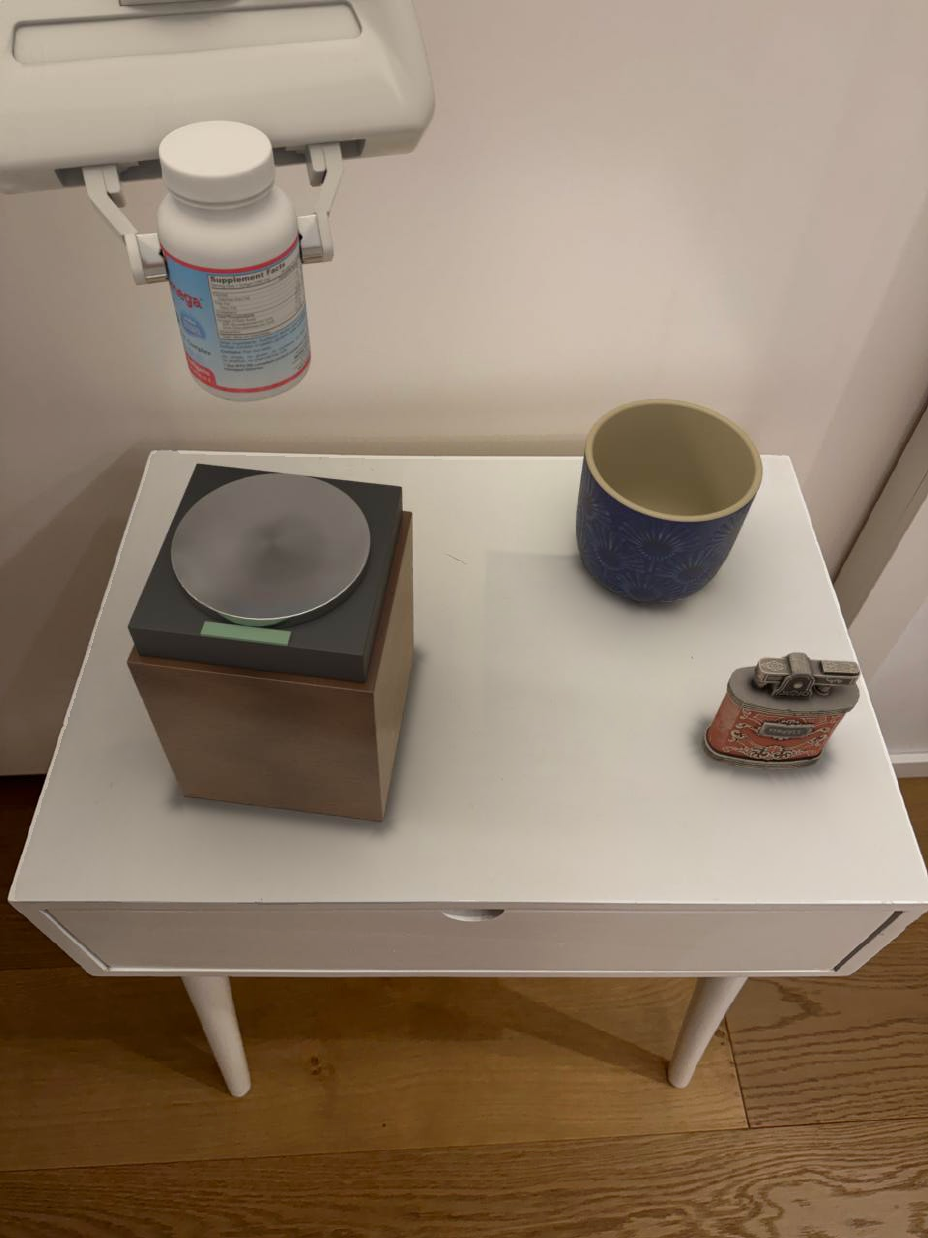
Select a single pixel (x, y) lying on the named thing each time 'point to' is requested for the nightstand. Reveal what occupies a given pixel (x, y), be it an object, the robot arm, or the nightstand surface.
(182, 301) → the pill bottle
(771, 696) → the lighter
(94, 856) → the nightstand surface
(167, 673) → the walnut riser
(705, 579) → the planter
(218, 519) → the kitchen scale
